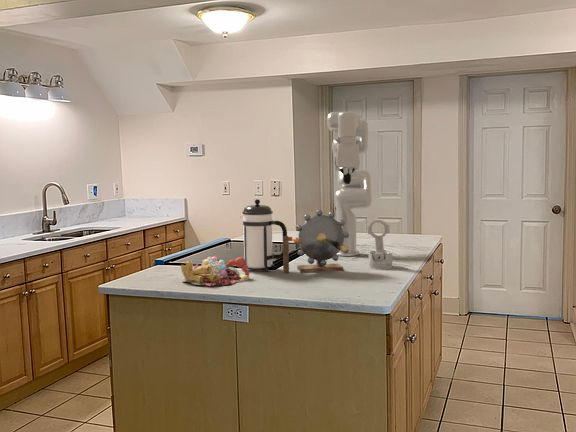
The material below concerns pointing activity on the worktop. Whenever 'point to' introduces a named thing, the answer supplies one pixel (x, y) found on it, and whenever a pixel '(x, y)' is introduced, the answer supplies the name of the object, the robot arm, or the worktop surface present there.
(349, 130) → the robot arm
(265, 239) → the coffee press
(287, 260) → the wheel stand
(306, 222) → the sprocket
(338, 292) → the worktop surface
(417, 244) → the worktop surface
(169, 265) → the worktop surface
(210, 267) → the candy landscape model
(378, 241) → the engine component
